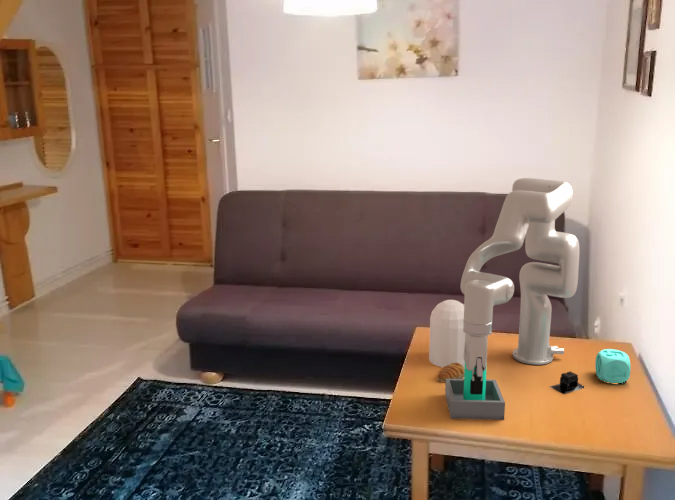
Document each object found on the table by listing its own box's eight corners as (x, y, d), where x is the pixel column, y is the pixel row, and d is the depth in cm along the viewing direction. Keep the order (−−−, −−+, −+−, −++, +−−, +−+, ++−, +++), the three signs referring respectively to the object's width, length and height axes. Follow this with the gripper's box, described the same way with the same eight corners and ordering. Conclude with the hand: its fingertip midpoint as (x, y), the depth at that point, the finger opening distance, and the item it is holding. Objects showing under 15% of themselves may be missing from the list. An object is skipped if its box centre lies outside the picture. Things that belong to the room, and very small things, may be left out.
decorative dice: (629, 385, 196) (632, 360, 194) (600, 383, 197) (603, 358, 195) (621, 373, 203) (624, 349, 201) (594, 372, 204) (596, 348, 202)
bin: (494, 395, 189) (495, 379, 188) (504, 419, 176) (505, 402, 175) (445, 394, 190) (445, 378, 189) (450, 418, 177) (451, 401, 175)
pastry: (450, 386, 196) (450, 374, 195) (431, 379, 200) (431, 368, 199) (467, 376, 202) (468, 365, 201) (449, 370, 207) (449, 359, 206)
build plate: (574, 379, 201) (576, 365, 200) (593, 389, 194) (595, 375, 193) (543, 388, 195) (544, 373, 194) (562, 398, 189) (563, 383, 188)
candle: (460, 393, 185) (462, 353, 182) (481, 392, 186) (483, 352, 183) (466, 403, 179) (468, 362, 176) (488, 402, 180) (490, 361, 177)
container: (426, 366, 209) (428, 306, 204) (430, 350, 222) (432, 293, 217) (469, 370, 206) (472, 309, 201) (471, 353, 219) (474, 295, 214)
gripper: (459, 315, 186) (456, 375, 190) (467, 338, 169) (464, 403, 174) (486, 315, 185) (483, 376, 190) (497, 338, 169) (493, 404, 173)
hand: (474, 388), depth 182 cm, fingers closed on candle, 4 cm apart
